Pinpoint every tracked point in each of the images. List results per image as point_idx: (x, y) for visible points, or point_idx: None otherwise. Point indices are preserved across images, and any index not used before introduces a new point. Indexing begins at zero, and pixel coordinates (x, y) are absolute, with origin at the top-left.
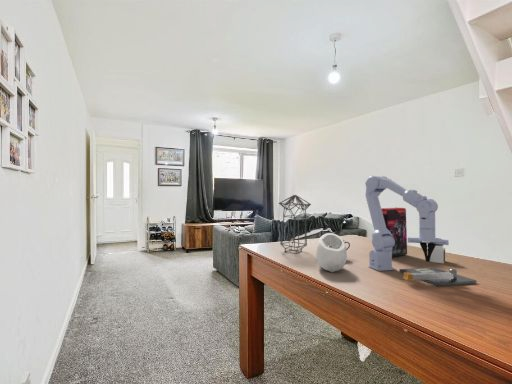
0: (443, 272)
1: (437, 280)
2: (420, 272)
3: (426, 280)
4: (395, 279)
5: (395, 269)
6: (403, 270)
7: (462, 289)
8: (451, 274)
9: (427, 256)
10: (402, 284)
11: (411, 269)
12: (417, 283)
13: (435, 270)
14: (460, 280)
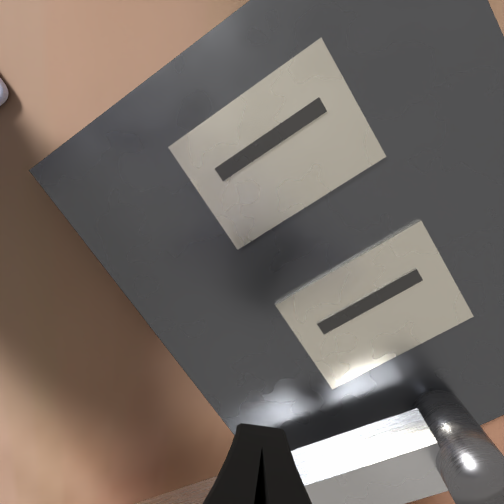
0: (378, 470)
1: (309, 439)
2: (221, 232)
3: (235, 427)
4: (31, 410)
5: (1, 104)
6: (68, 208)
7: (430, 497)
8: (433, 488)
9: (263, 470)
10: (79, 501)
11: (146, 129)
12: (172, 456)
13: (399, 79)
14: (496, 390)
